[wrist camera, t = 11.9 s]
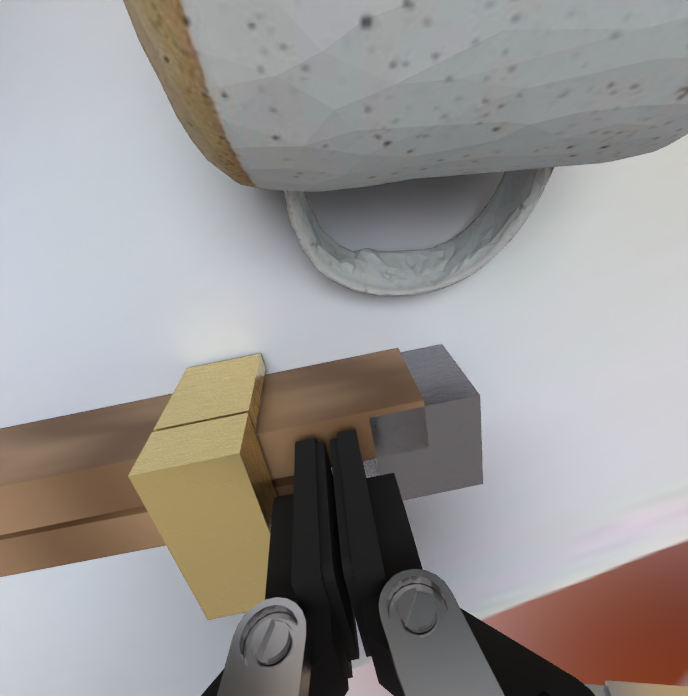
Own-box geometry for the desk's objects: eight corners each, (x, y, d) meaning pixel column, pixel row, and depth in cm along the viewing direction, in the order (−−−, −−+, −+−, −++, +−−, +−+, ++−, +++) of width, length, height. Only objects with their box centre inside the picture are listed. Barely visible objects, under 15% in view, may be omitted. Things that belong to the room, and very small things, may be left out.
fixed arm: (-103, 491, 14) (-208, 578, 11) (-135, 456, 13) (-256, 538, 10) (403, 388, 14) (428, 447, 11) (397, 348, 13) (423, 400, 11)
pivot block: (369, 436, 15) (385, 503, 12) (355, 362, 13) (368, 417, 11) (448, 420, 15) (482, 484, 12) (442, 344, 14) (479, 395, 11)
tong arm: (-109, 530, 14) (-203, 616, 12) (-136, 502, 14) (-242, 586, 11) (328, 447, 15) (334, 512, 12) (322, 416, 14) (327, 477, 11)
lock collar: (235, 487, 15) (207, 619, 11) (186, 368, 13) (128, 475, 8) (297, 474, 15) (295, 602, 11) (260, 353, 13) (239, 452, 8)
